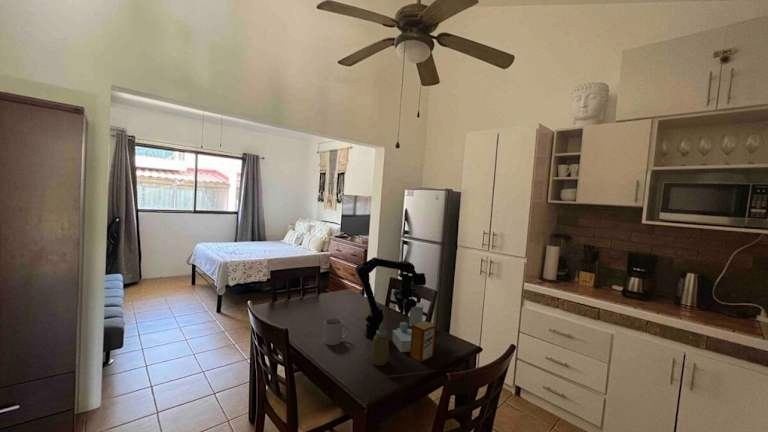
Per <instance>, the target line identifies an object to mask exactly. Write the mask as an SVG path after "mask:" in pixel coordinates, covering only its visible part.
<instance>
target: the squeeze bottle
mask: <svg viewBox="0 0 768 432" xmlns="http://www.w3.org/2000/svg"><path fill="white" fill-rule="evenodd" d="M387 333H388V332H387V331H386V330H385V325H384V323H383V322H382V323H381V324H380V326H379V330H377V331H376V335H375V336H374V338H373V339H372V346H371V351H370V358H371V362H372V364H373V365H375V366H378V367H379V366H385V365H386V364H387V362H388V360H389V356H390V353H389V351H390V350H389V349H390V348H389V347H390V346H389V344H390V343H389V336H388V334H387Z"/></svg>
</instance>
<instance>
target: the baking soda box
mask: <svg viewBox="0 0 768 432" xmlns="http://www.w3.org/2000/svg"><path fill="white" fill-rule="evenodd" d="M436 327H437V325H436V324H434V323H433V322H429V321H427V320H422V322H419V323H416V324H414V325H412V327H411V329H412V335H411V348H410V351H409V357H410V358H412V359H414V360H416V361H418V362H419V363H422V362H425V361H427V360H428V359H430V358H432V357H434V351H435V349H434V348H435V340H436V339H435V338H436Z"/></svg>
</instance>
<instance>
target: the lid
mask: <svg viewBox="0 0 768 432" xmlns="http://www.w3.org/2000/svg"><path fill="white" fill-rule="evenodd" d="M408 327H409V323H407V322H406V321H403V322H401V321H400V322H399V327H397V328H396V329H392V334H393V333H394V334H395V335H396V337H397V338H398V339H399V340H400V342H401V343H406V342H411V335H412V328H408Z"/></svg>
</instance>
